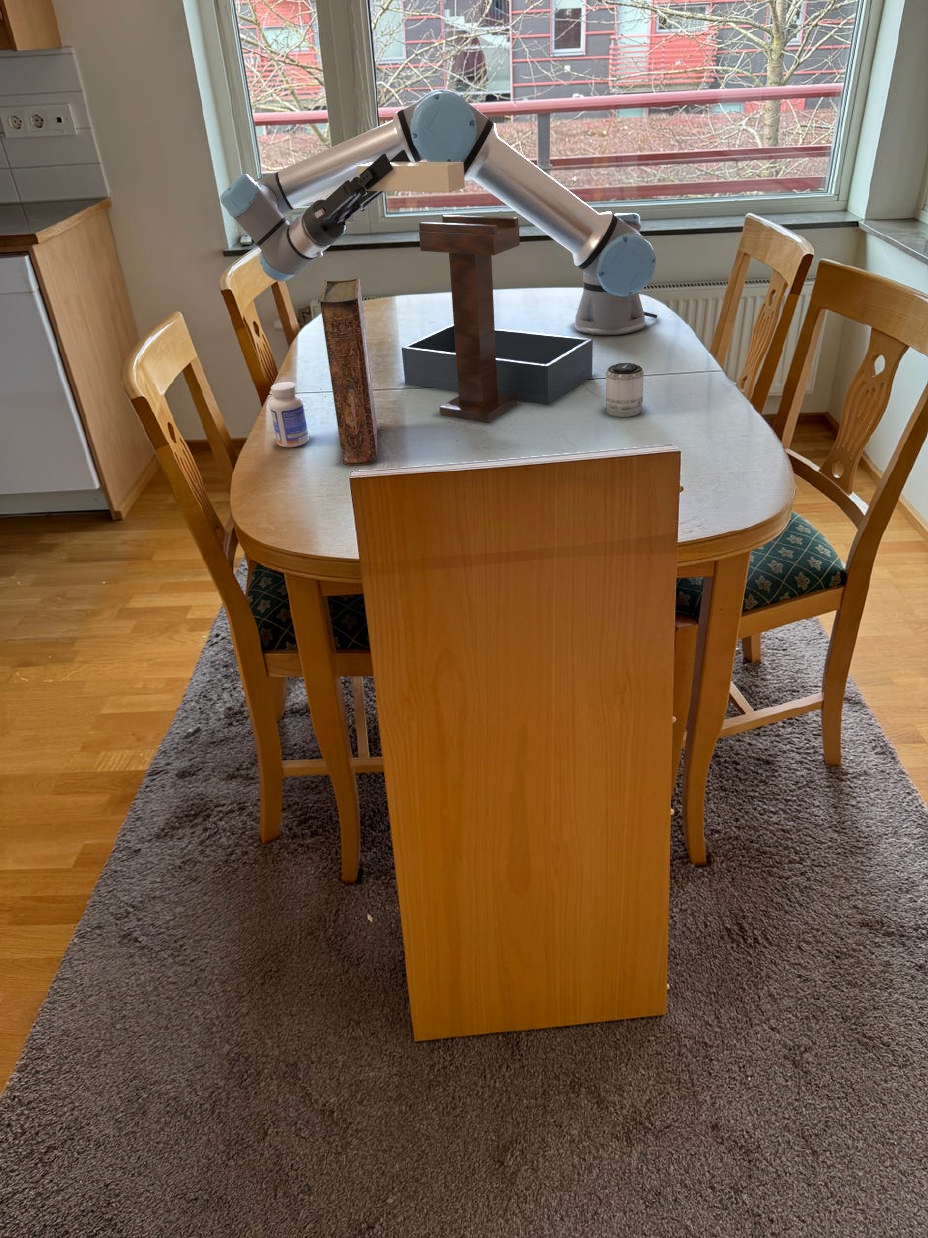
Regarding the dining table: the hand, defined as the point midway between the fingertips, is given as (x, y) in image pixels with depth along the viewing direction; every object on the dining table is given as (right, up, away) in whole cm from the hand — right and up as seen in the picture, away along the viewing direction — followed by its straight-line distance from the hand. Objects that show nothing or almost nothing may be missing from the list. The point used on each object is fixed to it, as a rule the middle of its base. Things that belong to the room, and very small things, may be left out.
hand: (397, 159), depth 157 cm
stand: (+14, -42, +5) cm, 44 cm away
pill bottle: (-17, -49, -3) cm, 52 cm away
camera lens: (+39, -44, 0) cm, 58 cm away
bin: (+18, -33, +18) cm, 42 cm away
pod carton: (+2, -5, +1) cm, 5 cm away
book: (-6, -51, -6) cm, 51 cm away
